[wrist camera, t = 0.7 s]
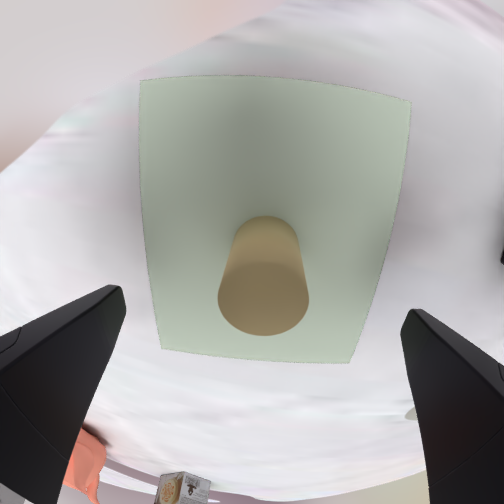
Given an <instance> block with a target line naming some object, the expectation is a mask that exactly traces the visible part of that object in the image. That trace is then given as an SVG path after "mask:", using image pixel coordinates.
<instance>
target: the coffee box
mask: <svg viewBox="0 0 504 504" xmlns="http://www.w3.org/2000/svg"><path fill="white" fill-rule="evenodd" d="M209 489H210V481H209V480H206V479H203V478H200V477H197V476H194V475H192V474H189V473H187V472H180V473H174V474H168V475H161V477H160V482H159V486H158V489H157V494H156V499H155V503H154V504H207V502H208V495H209Z"/></svg>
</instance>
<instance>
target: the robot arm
mask: <svg viewBox="0 0 504 504" xmlns="http://www.w3.org/2000/svg"><path fill="white" fill-rule="evenodd" d="M501 263H502V264H503V265H504V254H503V257H502V260H501ZM125 315H126V305H125V300H124V295H123V291H122V288H121V287H120V286H116V285H107V286H105V287H102V288H100V289H98V290H96V291H94V292H92V293H89V294H87V295H85V296H83V297H81V298H79V299H77V300H75V301H72V302H70V303H68V304H66V305H64V306H62V307H60V308H58V309H56V310H54V311H51V312H49V313H47V314H45V315H43V316H41V317H39V318H37V319H35V320H33V321H31V322H29V323H27V324H25V325H23V326H22V327H19V328H17V329H15V330H13V331H11V332H9V333H7V334H4V335H2V336H0V504H23V503H24V501H25V499H27V500H28V501H30V502H32V503H34V504H57V500H58V497H59V494H60V490H61V487H62V483H63V480H64V477H65V474H66V470H67V467H68V464H69V461H70V458H71V455H72V452H73V449H74V446H75V443H76V440H77V438H78V435H79V432H80V429H81V427H82V424H83V422H84V419H85V416H86V414H87V411H88V409H89V406H90V404H91V401H92V399H93V396H94V394H95V392H96V389H97V387H98V384H99V382H100V380H101V377H102V375H103V373H104V371H105V368H106V366H107V364H108V362H109V359H110V357H111V355H112V352H113V350H114V347H115V344H116V341H117V338H118V335H119V332H120V329H121V326H122V323H123V321H124V318H125ZM400 335H401V341H402V347H403V352H404V358H405V364H406V370H407V375H408V380H409V384H410V388H411V392H412V396H413V400H414V404H415V409H416V413H417V418H418V423H419V428H420V433H421V438H422V444H423V450H424V456H425V463H426V470H427V477H428V486H429V497H430V504H504V366H503V365H502V364H500V363H498V362H497V361H496V360H495V359H493V358H492V357H491V356H489V355H488V354H487V353H485V352H484V351H482V350H481V349H480V348H478V347H477V346H475V345H474V344H473V343H471V342H470V341H468V340H467V339H465V338H464V337H463V336H461V335H460V334H458V333H457V332H455V331H454V330H452V329H451V328H449V327H448V326H447V325H445V324H444V323H442V322H441V321H439V320H438V319H436V318H435V317H433V316H432V315H430V314H429V313H427V312H426V311H424V310H423V309H411V310H410V311H409V312H408V314H407V316H406V319H405V321H404V324H403V326H402V328H401V333H400Z"/></svg>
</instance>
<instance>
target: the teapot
mask: <svg viewBox="0 0 504 504" xmlns="http://www.w3.org/2000/svg"><path fill="white" fill-rule="evenodd" d="M105 461H106V449H105V446H104V445H102V444H101V443H100V442H99V439H98V438H97V437H96V436H94V435H92V434H90V433H87V432H86V431H85V430H83V429H82V428H81V429H80V432H79V435H78V438H77V440H76V443H75V446H74V449H73V452H72V455H71V458H70V461H69V464H68V467H67V470H66V474H65V477H64V480H63V483H62V484H65V485H67V486H69V487H71V488H74V489H77V490H80V491H81V492H83V493H84V494H86V495H88V498H89V500H90V501H91V502H93V503H95V504H99V502H98V500H97V488H98V484H99V477H100V476H99V473H100V471H101V469H102V468H103V466H104V464H105ZM86 488H87V491H86Z"/></svg>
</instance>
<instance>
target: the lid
mask: <svg viewBox="0 0 504 504" xmlns="http://www.w3.org/2000/svg"><path fill="white" fill-rule="evenodd" d="M411 105H412V102H410V101H406V100H403V99H399V98H395V97H392V96H388V95H384V94H380V93H376V92H371V91H367V90H362V89H357V88H352V87H347V86H341V85H336V84H329V83H323V82H316V81H308V80H300V79H290V78H279V77H265V76H242V75H207V76H184V77H170V78H159V79H150V80H141V81H140V102H139V167H140V189H141V205H142V218H143V230H144V240H145V249H146V258H147V266H148V274H149V281H150V288H151V294H152V301H153V307H154V313H155V318H156V324H157V329H158V335H159V340H160V345H161V349H166V350H172V351H179V352H186V353H193V354H200V355H208V356H216V357H225V358H235V359H246V360H258V361H273V362H293V363H350V361H351V358H352V356H353V353H354V351H355V348H356V345H357V343H358V340H359V337H360V335H361V332H362V329H363V327H364V324H365V321H366V318H367V315H368V312H369V309H370V306H371V303H372V300H373V297H374V294H375V291H376V287H377V284H378V281H379V277H380V274H381V271H382V267H383V263H384V260H385V256H386V252H387V248H388V244H389V240H390V236H391V232H392V228H393V224H394V219H395V215H396V210H397V205H398V200H399V195H400V190H401V184H402V178H403V172H404V166H405V159H406V152H407V145H408V136H409V127H410V117H411Z"/></svg>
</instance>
